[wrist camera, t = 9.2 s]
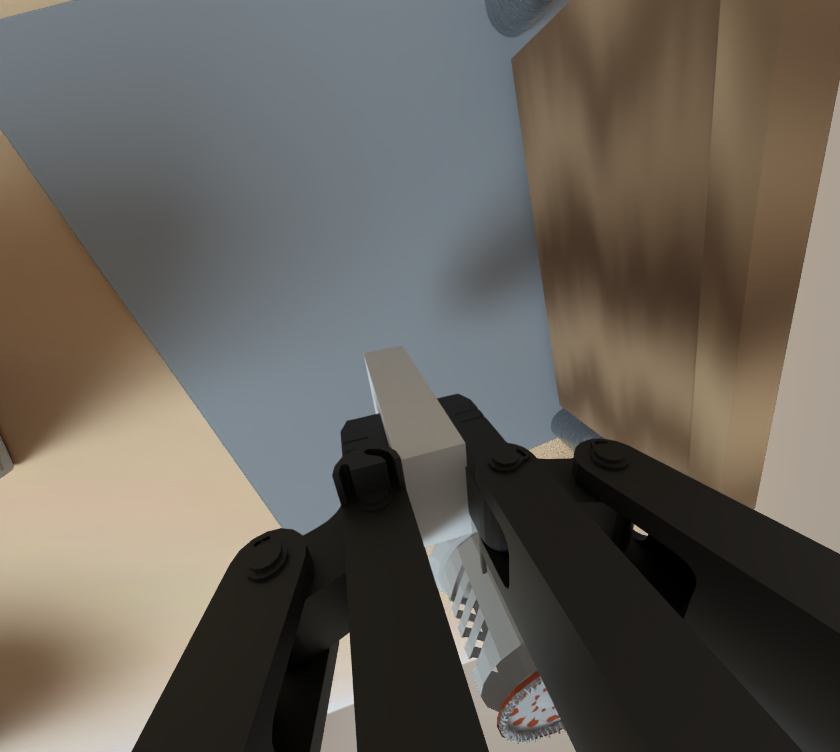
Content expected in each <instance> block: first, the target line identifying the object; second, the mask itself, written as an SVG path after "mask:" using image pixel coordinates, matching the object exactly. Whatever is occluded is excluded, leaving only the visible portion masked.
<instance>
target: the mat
mask: <svg viewBox="0 0 840 752" xmlns="http://www.w3.org/2000/svg"><path fill="white" fill-rule="evenodd" d="M569 1H570V0H555V1H554V2H553V3H552V4H551V5H550V6H549V7H548V8H547V9H546V10H545V12H544V13H543V14H542V15H541V16H540V17H539V18H538V19H537V20H536V21H535V22H534V23H533V24H532V25H531V26H530V27H529V28H528V29H527V30H526V31H525V32H524V33H523V34H521V35H520V36H517V37H506V36H503V35H502V34H500V33H499V32H497V31H496V29H495V28H494V27H493V26H492V24H491V22H490V20H489V18H488V15H487V12H486V7H485V0H74V1H70V2H66V3H62V4H58V5H54V6H50V7H46V8H42V9H38V10H34V11H30V12H26V13H22V14H18V15H15V16H11V17H7V18H3V19H0V129H1V130H2V132H3V133H4V135H5V136H6V137H7V139H8V140H9V142H10V143H11V144H12V146H13V147H14V149H15V150H16V152H17V153H18V154H19V156H20V157H21V159H22V160H23V162H24V163H25V164H26V166H27V167H28V169H29V170H30V171H31V173H32V174H33V176H34V177H35V179H36V180H37V181H38V183H39V184H40V186H41V187H42V188H43V190H44V191H45V193H46V194H47V196H48V197H49V198H50V200H51V201H52V203H53V204H54V205H55V207H56V208H57V210H58V211H59V213H60V214H61V215H62V217H63V218H64V220H65V221H66V222H67V224H68V225H69V227H70V228H71V230H72V231H73V232H74V234H75V235H76V237H77V238H78V239H79V241H80V242H81V244H82V245H83V247H84V248H85V249H86V251H87V252H88V254H89V255H90V257H91V258H92V259H93V261H94V262H95V264H96V265H97V266H98V268H99V269H100V271H101V272H102V274H103V275H104V276H105V278H106V279H107V281H108V282H109V283H110V285H111V286H112V288H113V289H114V291H115V292H116V293H117V295H118V296H119V298H120V299H121V300H122V302H123V303H124V305H125V306H126V308H127V309H128V310H129V312H130V313H131V315H132V316H133V317H134V319H135V320H136V322H137V323H138V325H139V326H140V327H141V329H142V330H143V332H144V333H145V334H146V336H147V337H148V339H149V340H150V342H151V343H152V344H153V346H154V347H155V349H156V350H157V351H158V353H159V354H160V356H161V357H162V359H163V360H164V361H165V363H166V364H167V366H168V367H169V369H170V370H171V371H172V373H173V374H174V376H175V377H176V378H177V380H178V381H179V383H180V384H181V386H182V387H183V388H184V390H185V391H186V393H187V394H188V395H189V397H190V398H191V400H192V401H193V403H194V404H195V405H196V407H197V408H198V410H199V411H200V412H201V414H202V415H203V417H204V418H205V420H206V421H207V422H208V424H209V425H210V427H211V428H212V429H213V431H214V432H215V434H216V435H217V437H218V438H219V439H220V441H221V442H222V444H223V445H224V446H225V448H226V449H227V451H228V452H229V454H230V455H231V456H232V458H233V459H234V461H235V462H236V464H237V465H238V466H239V468H240V469H241V471H242V472H243V473H244V475H245V476H246V478H247V479H248V481H249V482H250V483H251V485H252V486H253V488H254V489H255V490H256V492H257V493H258V495H259V496H260V498H261V499H262V500H263V502H264V503H265V505H266V506H267V507H268V509H269V510H270V512H271V513H272V515H273V516H274V517H275V519H276V520H277V522H278V523H279V524H280V526H281V527H282V528H284V529H294V530H295V531H297V532H299V533H300V534H302V536H303V535H305V534H307V533H308V532H310V531H312V530H314V529H315V528H317V527H319V526H320V525H322V524H323V523H325V522H326V521H328V520H329V519H330V518H331V517H332V516H333V515H334V514H335V513H336V512H337V511H338V509H339V508H340V506H341V504H340V500H339V497H338V494H337V490H336V487H335V484H334V480H333V477H332V474H333V470H334V466H335V465H336V464H337V462H338V461H339V460H340V459H341V458H342V446H341V445H342V444H341V433H340V432H341V430H342V428H343V427H344V425H345V423H346V421H348V420H352V419H357V418H361V417H365V416H369V415H374V414H376V412H375V407H374V402H373V397H372V392H371V388H370V383H369V378H368V373H367V368H366V363H365V358H364V354H363V353H367V352H372V351H377V350H382V349H387V348H392V347H397V346H403V347H404V349H405V351H406V352H407V354H408V355H409V357H410V358H411V360H412V361H413V363H414V364H415V366H416V368H417V369H418V371H419V372H420V374H421V375H422V377H423V378H424V380H425V381H426V383H427V384H428V386H429V388H430V389H431V391H432V392H433V394H434V395H435V397H436V398H441V397H445V396H449V395H454V394H461V395H463V396H465V397H467V398H469V399H471V400H472V402H473V403H474V404H475V405H476V406H477V408H478V410H480V411H481V412H482V413H483V415H484V417H486V418H487V419H488V421H489V422H490V423H491V424H492V425H493V427H494V428H495V429H496V430H497V431H498V432H499V434H500V435H501V436H502V437H503V438H504V440H505V441H506V442H507V443H512V444H516V445H519V446H522V447H524V448H526V449H527V450H529V449H532V448H534V447H536V446H539V445H541V444H543V443H546V442H548V441H550V440H553V439H555V438H558V437H556V436H555V435H554V434H553V433H552V431H551V422H552V419H553V417H554V416H555V415H556V414H557V413H558V412H559V411H560V410H561V409H563V407H562V406H560V405H559V398H558V391H557V383H556V376H555V369H554V362H553V355H552V348H551V341H550V334H549V327H548V319H547V312H546V305H545V298H544V291H543V284H542V277H541V270H540V262H539V255H538V248H537V241H536V234H535V227H534V220H533V213H532V206H531V198H530V191H529V184H528V177H527V170H526V163H525V156H524V149H523V142H522V134H521V127H520V120H519V113H518V106H517V99H516V92H515V85H514V78H513V70H512V63H511V59H512V58H513V57H514V56H515V55H516V54H517V53H518V52H519V51H520V50H521V49H522V48H523V47H524V46H525V45H526V44H527V43H528V42H529V41H530V40H531V39H532V38H533V37H534V36H535V35H536V34H537V33H538V32H539V31H540V30H541V29H542V28H543V27H544V26H545V25H546V24H547V23H548V22H549V21H550V20H551V19H552V18H553V17H554V16H555V15H556V14H557V13H558V12H559V11H560V10H561V9H562V8H563V7H564V6H565V5H566V4H567V3H568V2H569Z"/></svg>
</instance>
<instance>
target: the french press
mask: <svg viewBox="0 0 840 752" xmlns="http://www.w3.org/2000/svg"><path fill="white" fill-rule="evenodd" d="M471 526H472V533H470V534H467V535H463V536H460V537H457V538H454V539H451V540H447V541H444V542H441V543H438V544H436V546H435V547H434V549H433V551H432V552H431V554H430V560H429V563H430V566H431V569H432V572H433V575H434V578H435V582H436V585H437V588H438V589H439V590H441V591H442V592H444V593H446V594H447V595H448V597H449V600H450V601H452V602H454V603H453V607H452V609H453V612H454V616H455V618H458V619H461V620H460V623H459V625H458V629H459V632H460V634H461V637H469V638H468V641H467V643H466V645H465V651H466V653H467V656H468V658H469V659H470V658H472V657H475V658H478V660H477V663H476V665H475V667H474V670H473V671H472V673H473V676H474V678H475V681H476V684H477V687H478V690H479V693H480V696H481V698H482V699H483V701H484V702H485V704H486V705H487V707H489V708H491V709H493V710H496V711H498V712H499V714H498V717H497V727H498V729H499V731H500V734H501V735H502V737H504V738H506V739H507V740H509V739H510V741H513V742H515V741H516V742H517V743H518V744H519V742H524V743H527V740H529V743H531V741H532V740H533V742H536V740H535V739H538V740H539V742H540V738H541V737H543V739H544V740H545V736H547V735H548V737H549V738H550V734H553V735H555V733H556V732H558V733H559V734H560V730H561V729H563V730H564V731H566V730H565V727H564V725H563V723H562V721H561V719H560V717H559V715H558V712H557V710H556V708H555V706H554V704H553V702H552V700H551V698H550V696H549V694H548V691H547V689H546V687H545V685H544V683H543V681H542V679H541V677H540V675H539V673H538V670H537V668H536V666H535V664H534V662H533V660H532V658H531V656H530V654H529V652H528V649H527V647H526V645H525V643H524V641H523V639H522V637H521V635H520V633H519V631H518V628H517V626H516V624H515V622H514V620H513V618H512V616H511V614H510V612H509V609H508V607H507V605H506V603H505V601H504V599H503V597H502V595H501V593H500V591H499V588H498V586H497V584H496V582H495V580H494V578H493V576H492V574H491V572H490V570H489V567H488V565H487V573H485V574H483V573H482V569H481V564H480V548H479V533H478V531H477V529H476V527H475V525H474V523H473V521H472V519H471ZM460 604H463V605H465V608H464V611H461V610H458V609H459V606H460ZM472 608H474V610H475V612H476V615H475V614H472V613H471V610H472ZM468 621H471V622H474V624H473V627H472V629H471V628H467V627H466V625H467V622H468ZM481 628H482V631H483V632H481V631H480V629H481ZM477 639H478V640H481V641H484V643H483V646H482V648H478V647H474V645H475V643H476V640H477ZM495 666H496V667H497V670H498V673H497V672H494V671H492V669H494V667H495Z"/></svg>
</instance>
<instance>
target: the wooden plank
mask: <svg viewBox="0 0 840 752" xmlns="http://www.w3.org/2000/svg"><path fill="white" fill-rule="evenodd" d="M511 63H512V70H513V78H514V85H515V92H516V99H517V106H518V113H519V120H520V127H521V134H522V142H523V149H524V156H525V163H526V170H527V177H528V184H529V191H530V198H531V206H532V213H533V220H534V227H535V234H536V241H537V248H538V255H539V262H540V270H541V277H542V284H543V291H544V298H545V305H546V312H547V319H548V327H549V334H550V341H551V348H552V355H553V362H554V369H555V376H556V383H557V391H558V398H559V405H560V406H562V407H563V408H564V409H566V410H567V411H568V412H570V413H571V414H572V415H574V416H575V417H576V418H578V419H579V420H580V421H582V422H583V423H584V424H586V425H587V426H588V427H590V428H591V429H592V430H594V431H595V432H596V433H598V434H599V435H600V436H602V437H603V438H604V439H609V440H615V441H618V442H621V443H623V444H626V445H629V446H631V447H633V448H635V449H637V450H638V451H640V452H642V453H644V454H646V455H648V456H650V457H652V458H654V459H656V460H658V461H660V462H662V463H664V464H666V465H668V466H670V467H672V468H673V469H675V470H677V471H679V472H681V473H683V474H685V475H687V476H689V477H691V478H693V479H695V480H697V481H699V482H701V483H703V484H705V485H707V486H708V487H710V488H712V489H714V490H716V491H718V492H720V493H722V494H724V495H726V496H728V497H730V498H732V499H734V500H736V501H738V502H740V503H742V504H743V505H745V506H747V507H749V508H751V509H754V508H755V505H756V500H757V495H758V490H759V485H760V480H761V475H762V470H763V465H764V460H765V455H766V450H767V445H768V439H769V435H770V429H771V424H772V419H773V413H774V409H775V404H776V399H777V393H778V389H779V384H780V378H781V373H782V369H783V363H784V359H785V354H786V349H787V343H788V338H789V333H790V328H791V323H792V318H793V313H794V308H795V302H796V298H797V293H798V288H799V282H800V278H801V273H802V267H803V263H804V257H805V252H806V247H807V242H808V237H809V232H810V227H811V222H812V217H813V212H814V207H815V202H816V197H817V192H818V187H819V182H820V176H821V171H822V166H823V161H824V156H825V151H826V146H827V141H828V136H829V131H830V126H831V121H832V115H833V111H834V106H835V101H836V96H837V91H838V85H839V80H840V0H570V1H569V2H568V3H567V4H566V5H565V6H564V7H563V8H562V9H561V10H560V11H559V12H558V13H557V14H556V15H555V16H554V17H553V18H552V19H551V20H550V21H549V22H548V23H547V24H546V25H545V26H544V27H543V28H542V29H541V30H540V31H539V32H538V33H537V34H536V35H535V36H534V37H533V38H532V39H531V40H530V41H529V42H528V43H527V44H526V45H525V46H524V47H523V48H522V49H521V50H520V51H519V52H518V53H517V54H516V55H515V56H514V57H513V58H512V59H511Z"/></svg>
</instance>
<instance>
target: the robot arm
mask: <svg viewBox="0 0 840 752" xmlns="http://www.w3.org/2000/svg"><path fill="white" fill-rule="evenodd" d="M363 354H364V358H365V363H366V368H367V373H368V378H369V383H370V388H371V392H372V397H373V402H374V407H375V412H376V414H374V415H369V416H365V417H361V418H357V419H352V420H348V421H346V423H345V425H344V427H343V428H342V430H341V432H340V433H341V444H342V445H341V446H342V458H341V459H340V460H339V461H338V462H337V464H336V465H335V466H334V470H333V474H332V477H333V480H334V484H335V487H336V490H337V494H338V497H339V500H340V504H341V506H340V508H339V509H338V511H337V512H336V513H335V514H334V515H333V516H332V517H331V518H330V519H329V520H328V521H326V522H325V523H323V524H322V525H320V526H319V527H317V528H315V529H314V530H312V531H310V532H308V533H307V534H305V535H303V536H302V534H300V533H299V532H297V531H295V530H294V529H284V528H280V529H276V530H272V531H268V532H266V533H264V534H262V535H260V536H258V537H256V538H255V539H253V540H251V541H250V542H249V543H248V544H247V545H246V546H244V547H243V548H242V549H241V550H240V551H239V552H238V554H237V555H236V556H235V558H234V559H233V561H232V562H231V563H230V565H229V567H228V569H227V571H226V573H225V575H224V577H223V578H222V580H221V582H220V584H219V586H218V588H217V590H216V592H215V594H214V596H213V597H212V599H211V601H210V603H209V605H208V607H207V609H206V611H205V613H204V615H203V617H202V618H201V620H200V622H199V624H198V626H197V628H196V630H195V632H194V634H193V636H192V637H191V639H190V641H189V643H188V645H187V647H186V649H185V651H184V653H183V655H182V657H181V658H180V660H179V662H178V664H177V666H176V668H175V670H174V672H173V674H172V676H171V677H170V679H169V681H168V683H167V685H166V687H165V689H164V691H163V693H162V695H161V697H160V698H159V700H158V702H157V704H156V706H155V708H154V710H153V712H152V714H151V716H150V717H149V719H148V721H147V723H146V725H145V727H144V729H143V731H142V733H141V735H140V737H139V738H138V740H137V742H136V744H135V746H134V748H133V750H132V752H320V750H321V744H322V738H323V732H324V727H325V721H326V715H327V710H328V704H329V698H330V692H331V687H332V681H333V675H334V669H335V664H336V658H337V652H338V646H339V640H340V639H341V638H343V637H344V636H345V635H347V634H348V633H349V632H350V645H351V661H352V676H353V692H354V708H355V722H356V739H357V752H489V750H488V747H487V744H486V741H485V737H484V735H483V731H482V728H481V725H480V722H479V719H478V715H477V712H476V709H475V706H474V703H473V699H472V696H471V693H470V690H469V687H468V683H467V680H466V677H465V674H464V671H463V668H462V664H461V661H460V658H459V655H458V652H457V648H456V645H455V642H454V639H453V636H452V633H451V629H450V626H449V623H448V620H447V617H446V613H445V610H444V607H443V604H442V601H441V598H440V594H439V591H438V588H437V585H436V582H435V578H434V575H433V572H432V569H431V566H430V563H429V559H428V556H427V553H426V550H425V547H428V546H432V545H435V544H438V543H441V542H444V541H447V540H451V539H454V538H457V537H460V536H463V535H467V534H470V533H472V526H471V519H472V521H473V523H474V525H475V527H476V529H477V531H478V533H479V548H480V564H481V569H482V573H483V574H485V573H487V565H488V567H489V570H490V572H491V574H492V576H493V578H494V580H495V582H496V584H497V586H498V588H499V591H500V593H501V595H502V597H503V599H504V601H505V603H506V605H507V607H508V609H509V612H510V614H511V616H512V618H513V620H514V622H515V624H516V626H517V628H518V631H519V633H520V635H521V637H522V639H523V641H524V643H525V645H526V647H527V649H528V652H529V654H530V656H531V658H532V660H533V662H534V664H535V666H536V668H537V670H538V673H539V675H540V677H541V679H542V681H543V683H544V685H545V687H546V689H547V691H548V694H549V696H550V698H551V700H552V702H553V704H554V706H555V708H556V710H557V712H558V715H559V717H560V719H561V721H562V723H563V725H564V727H565V729H566V731H567V733H568V736H569V737H570V740H571V742H572V744H573V746H574V748H575V750H576V752H840V554H839V553H837V552H835V551H833V550H831V549H829V548H827V547H825V546H823V545H821V544H819V543H817V542H815V541H813V540H812V539H810V538H808V537H806V536H804V535H802V534H800V533H798V532H796V531H794V530H792V529H790V528H788V527H786V526H784V525H782V524H780V523H778V522H777V521H775V520H773V519H771V518H769V517H767V516H765V515H763V514H761V513H759V512H757V511H755V510H753V509H751V508H749V507H747V506H745V505H743V504H742V503H740V502H738V501H736V500H734V499H732V498H730V497H728V496H726V495H724V494H722V493H720V492H718V491H716V490H714V489H712V488H710V487H708V486H707V485H705V484H703V483H701V482H699V481H697V480H695V479H693V478H691V477H689V476H687V475H685V474H683V473H681V472H679V471H677V470H675V469H673V468H672V467H670V466H668V465H666V464H664V463H662V462H660V461H658V460H656V459H654V458H652V457H650V456H648V455H646V454H644V453H642V452H640V451H638V450H637V449H635V448H633V447H631V446H629V445H626V444H623V443H621V442H618V441H615V440H609V439H589V440H586V441H583V442H581V443H580V444H579V445H578V446H576V447H575V452H574V458H570V459H538V458H536V457H535V456H534V455H533V454H532V453H531V452H530V451H529V450H527V449H526V448H524V447H522V446H519V445H516V444H512V443H507V442H506V441H505V440H504V438H503V437H502V436H501V435H500V434H499V432H498V431H497V430H496V429H495V428H494V427H493V425H492V424H491V423H490V422H489V421H488V419H487V418H486V417H484V415H483V413H482V412H481V411H480V410H478V408H477V406H476V405H475V404H474V403H473V402H472V400H471V399H469V398H467V397H465V396H463V395H461V394H454V395H449V396H445V397H441V398H436V397H435V395H434V394H433V392H432V391H431V389H430V388H429V386H428V384H427V383H426V381H425V380H424V378H423V377H422V375H421V374H420V372H419V371H418V369H417V368H416V366H415V364H414V363H413V361H412V360H411V358H410V357H409V355H408V354H407V352H406V351H405V349H404V347H403V346H397V347H392V348H387V349H382V350H377V351H372V352H367V353H363ZM634 524H635V525H636V526H638V527H639V528H640V529H642V530H643V531H645V532H646V533H648V536H645V535H641V534H640V533H638V532H636V531H634V530H633V527H634Z"/></svg>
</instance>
